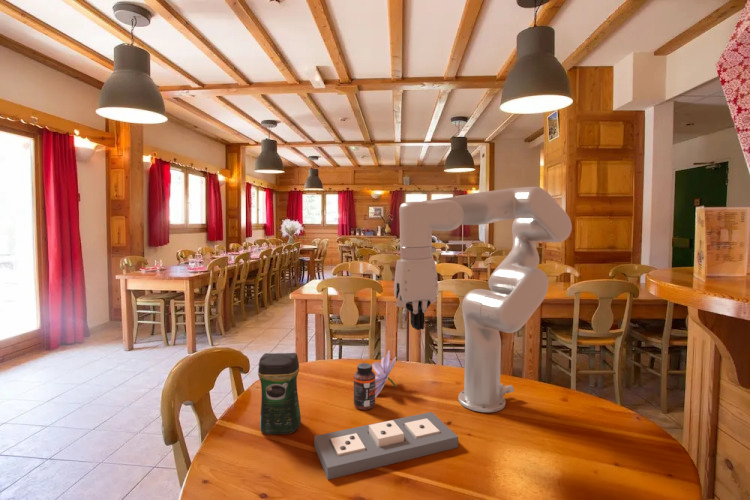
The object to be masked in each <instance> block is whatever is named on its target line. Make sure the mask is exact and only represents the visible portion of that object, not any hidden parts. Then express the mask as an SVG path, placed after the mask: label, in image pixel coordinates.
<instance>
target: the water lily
mask: <svg viewBox="0 0 750 500" xmlns="http://www.w3.org/2000/svg"><path fill="white" fill-rule="evenodd" d="M396 359H397V357H396V356H395V357H394V358H393V359H392V361H391V351H390V350H388V351H387V353H386V356H383V357H382V358H381V360H380V362H378V361H375V362H373V363H372V364H371V365H372V370H373V372H374V373H375V398H377V397H378V395H379V394H380V393H381V392H382V390H383V388H384V386H385V385H386V381H387V380H388V381H389V382H390V383H391V384H392V385H393V386H394V388H397V387H398V385H397V384H396V383H395V382H394V380H392V379H391V378H390V377H389V375H390V373H391V372H392V370H393V368H394V366H395V365H396V361H397V360H396Z"/></svg>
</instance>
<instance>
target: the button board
mask: <svg viewBox="0 0 750 500" xmlns="http://www.w3.org/2000/svg"><path fill="white" fill-rule="evenodd" d="M426 418H427V419H428V420H429V421H430V422H431V423H432V424H433V425H434V426H435V427H436V428H437V429H438V430H439V431H440V433H439V434H435V435H430V436H426V437H422V438H417V439H415V438H414V437H413V435H412V434H411V433H410V432H409V431H408V430H407V428H406V427H405V423H407V422H412V421H417V420H422V419H426ZM391 420H393V421H394V422H395V423H396V424H397V426H398V427H399V428H400V429H401V430H402V432H403V433H404V442H400V443H396V444H391V445H387V446H383V447H377V446H376V444H375V443H374V441H373V440H372V438H371V437H370V435H369V425H372V424H373V423H372V424H366V425H360V426H357V427H352V428H347V429H341V430H336V431H332V432H327V433H323V434H318V435H314V436H313V438H314V439H313V440H314V441H313V442H314V444H313V447H314V450H315V452H316V454H317V457H318V459H319V462H320V464H321V467H322V469H323V471H324V474H325V476H326V479H327V480H328V481H329V480H333V479H337V478H340V477H346V476H348V475H353V474H356V473H361V472H364V471H369V470H373V469H376V468H380V467H384V466H388V465H389V466H390V465H393V464H397V463H400V462H405V461H409V460H413V459H418V458H420V457H425V456H429V455H433V454H436V453H440V452H445V451H448V450H453V449H458V448H459V436H458V434H456V433H455V432H454V431H453V430H452V429H451V428H450V427H448V426H447V425H446V424H445V423H444V422H443V421H442V419H440V418H439V417H438V416H437V415H436V414H435V413H434V412H433V411H430V412H425V413H419V414H414V415H410V416H405V417H400V418H396V419H395V418H394V419H391ZM391 420H389V421H391ZM386 421H387V420H385V421H384V422H386ZM381 422H382V421H381ZM381 422H379V423H381ZM376 423H377V422H375V423H374V424H376ZM355 433H357V435H358V436H359V438H360V440H361V441H362V443H363V445H364V446H365V451H361V452H356V453H352V454H348V455H343V456H339V457H337V456H336V454H335V452H334V449H333V447H332V445H331V438H336V437H341V436H345V435H350V434H355Z"/></svg>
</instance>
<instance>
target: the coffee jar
mask: <svg viewBox="0 0 750 500" xmlns="http://www.w3.org/2000/svg"><path fill="white" fill-rule="evenodd" d="M299 373H300V363H299V357H298V355H297V352H290V353H289V352H287V353H286V352H285V353H284V352H282V353H281V352H277V353H268V352H265V353H264V354H263V355H262V356H261V357H260V358H259V363H258V369H257V375H258V378H259V381H260V387H261V388H260V389H261V390H260V391H261V401H260V416H259V429H260V431H261V432H262V433H263V434H266V435H285V434H292V433H294V432H296V431H297V430H298V429H299V428H300V425H301V422H302V420H301V419H302V416H301V409H300V401H299V396H298V395H299V392H298V380H297V379H298V378H297V377H298V375H299Z"/></svg>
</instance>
